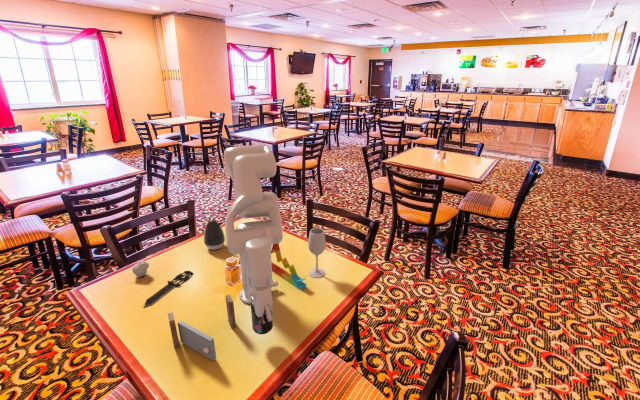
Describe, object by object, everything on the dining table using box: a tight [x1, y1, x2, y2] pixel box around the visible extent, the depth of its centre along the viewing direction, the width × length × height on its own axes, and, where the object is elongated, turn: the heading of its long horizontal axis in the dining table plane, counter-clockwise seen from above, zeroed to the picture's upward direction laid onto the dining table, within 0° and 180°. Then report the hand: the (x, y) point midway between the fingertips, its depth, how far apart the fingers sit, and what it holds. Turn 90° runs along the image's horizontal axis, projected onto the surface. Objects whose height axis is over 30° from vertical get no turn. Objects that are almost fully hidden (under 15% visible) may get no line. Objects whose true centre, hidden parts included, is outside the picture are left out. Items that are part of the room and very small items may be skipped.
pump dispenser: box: [203, 219, 226, 251], centre depth 162 cm, size 10×10×15 cm
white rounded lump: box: [131, 259, 150, 278], centre depth 140 cm, size 6×7×7 cm
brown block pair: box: [167, 294, 237, 350], centre depth 108 cm, size 20×4×11 cm, turn 120°
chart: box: [271, 243, 307, 291], centre depth 141 cm, size 30×3×15 cm, turn 45°
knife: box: [143, 270, 194, 308], centre depth 133 cm, size 25×6×1 cm, turn 154°
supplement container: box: [249, 303, 274, 335], centre depth 103 cm, size 7×7×10 cm
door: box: [176, 320, 217, 362], centre depth 100 cm, size 15×2×8 cm, turn 60°
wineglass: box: [307, 227, 327, 279], centre depth 140 cm, size 8×8×21 cm
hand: (262, 322), depth 104 cm, fingers closed on supplement container, 6 cm apart
